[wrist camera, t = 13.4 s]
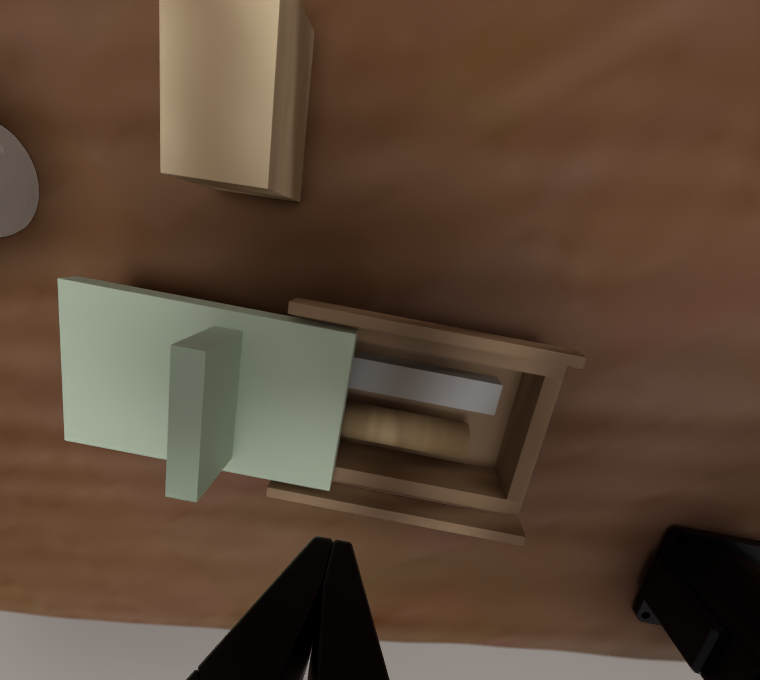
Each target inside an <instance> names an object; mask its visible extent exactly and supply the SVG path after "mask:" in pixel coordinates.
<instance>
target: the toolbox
mask: <svg viewBox="0 0 760 680" xmlns="http://www.w3.org/2000/svg"><path fill="white" fill-rule="evenodd" d="M288 314H292V315H295V317H297V318H302V319H308V320H313V321H318V322H323V323H329V324H334V325H339V326H345V327H350V328H355V329H358V334H357V340H356V346H355V352H354V358H353V364H352V370H351V376H350V382H349V388H348V393H347V399H346V405H345V411H344V417H343V423H342V429H341V435H340V441H339V447H338V453H337V458H336V464H335V470H334V476H333V480H332V481H335V482H341V483H346V484H351V485H356V486H361V487H367V488H372V489H377V490H382V491H387V492H393V493H398V494H403V495H408V496H413V497H419V498H424V499H429V500H434V501H439V502H445V503H450V504H455V505H460V506H465V507H471V508H476V509H481V510H486V511H491V512H497V513H502V514H507V515H512V516H517V517H518V516H519V513H520V510H521V507H522V504H523V501H524V498H525V495H526V492H527V489H528V486H529V483H530V480H531V477H532V474H533V471H534V468H535V465H536V462H537V458H538V455H539V452H540V449H541V446H542V443H543V440H544V437H545V434H546V431H547V428H548V425H549V422H550V419H551V416H552V413H553V410H554V407H555V404H556V401H557V397H558V394H559V391H560V388H561V385H562V382H563V379H564V376H565V373H566V370H567V367H573V368H578V369H583V368H584V365H585V362H586V359H587V357H585V356H584V355H582V354H580V353H579V352H577V351H575V350H574V349H569V348H564V347H558V346H553V345H548V344H542V343H537V342H532V341H527V340H521V339H516V338H511V337H505V336H500V335H495V334H489V333H484V332H479V331H473V330H468V329H463V328H457V327H452V326H447V325H441V324H436V323H431V322H425V321H420V320H415V319H409V318H404V317H399V316H394V315H388V314H383V313H378V312H372V311H367V310H362V309H356V308H351V307H346V306H340V305H335V304H330V303H324V302H319V301H314V300H308V299H303V298H298V297H297V298H295V299H293V300H291V301H289V306H288ZM266 497H271V498H276V499H281V500H286V501H292V502H297V503H302V504H307V505H312V506H318V507H323V508H328V509H333V510H338V511H343V512H349V513H354V514H359V515H364V516H369V517H375V518H380V519H385V520H390V521H395V522H400V523H406V524H411V525H416V526H421V527H426V528H432V529H437V530H442V531H447V532H452V533H457V534H463V535H468V536H473V537H478V538H483V539H489V540H494V541H499V542H504V543H509V544H514V545H520V546H523V544H524V541H525V538H526V536H525V534H524V532H523V529H522V527H521V525H520V522H519V520H518V518H513V517H508V516H503V515H498V514H492V513H487V512H482V511H477V510H472V509H466V508H461V507H456V506H451V505H446V504H440V503H435V502H430V501H425V500H420V499H414V498H409V497H404V496H399V495H394V494H388V493H383V492H378V491H373V490H368V489H362V488H357V487H352V486H347V485H342V484H336V483H332V484H331V487H330V491H326V490H321V489H316V488H310V487H305V486H300V485H295V484H290V483H284V482H279V481H274V480H271V481H270V483H269V485H268V487H267V494H266Z"/></svg>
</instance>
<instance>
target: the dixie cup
mask: <svg viewBox="0 0 760 680" xmlns="http://www.w3.org/2000/svg"><path fill="white" fill-rule="evenodd" d="M38 201H39V184H38V178H37V174H36V170H35V168H34V165H33V163H32V160H31V158H30V156H29V155H28V153H27V151H26V150H25V148H24V147H23V145H22V144H21V143H20V142H19V140H18V139H17V138H16V137H15V136H14V135H13V134H12V133H11V132H9V131H8V130H7V129H6V128H4V127H3V126H2V125H0V237H6V236H10V235H13V234H15V233H17V232H19V231H20V230H22V229H24V228H25V227H26V226H27V225H28V224H29V223H30V221H31V220H32V218H33V217H34V215H35V212H36V209H37V206H38Z"/></svg>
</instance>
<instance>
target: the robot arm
mask: <svg viewBox="0 0 760 680" xmlns="http://www.w3.org/2000/svg"><path fill="white" fill-rule="evenodd" d="M332 543H333V544H332ZM633 612H634V614H635V615H636V617H637V618H638V619H639V620H640V621H642V622H646V623H651V624H657V625H662V627H663V628H664V630H665V631H666V632H667V634H668V635H669V637H670V638H671V640H672V641H673V643H674V644H675V646H676V647H677V649H678V650H679V651H680V653H681V654H682V656H683V657H684V659H685V660H686V662H687V663H688V665H689V666H690V667H691V669H692V670H693V671H694V672H695V673H698V674H700V675H701V676H702V678H703V679H704V680H760V542H755V541H750V540H745V539H740V538H734V537H729V536H724V535H719V534H713V533H708V532H703V531H698V530H693V529H687V528H682V527H674V528H672V529H670V530H669V531H668V533H667V535H666V537H665V539H664V541H663V544H662V546H661V548H660V550H659V552H658V555H657V557H656V559H655V561H654V563H653V566H652V568H651V570H650V572H649V574H648V576H647V579H646V581H645V583H644V585H643V587H642V590H641V592H640V594H639V596H638V598H637V601H636V603H635V605H634V607H633ZM311 649H312V651H311ZM310 653H311V657H310ZM309 657H310V664H309V671H308V680H389V676H388V673H387V669H386V666H385V662H384V658H383V655H382V651H381V647H380V644H379V640H378V637H377V633H376V629H375V626H374V622H373V618H372V615H371V611H370V608H369V604H368V600H367V597H366V593H365V590H364V586H363V582H362V579H361V575H360V571H359V568H358V564H357V561H356V557H355V553H354V550H353V546H352V544H351V543H350V542H346V541H340V540H334V541H333V542H332V540H331V539H330V538H324V537H319V536H316V537H314V538H313V539H312V540H311V541H310V542H309V543H308V544H307V546H306V547H305V548H304V549H303V550H302V551H301V552H300V553H299V554H298V556H297V557H296V558H295V559H294V560H293V561H292V562H291V563H290V565H289V566H288V567H287V568H286V569H285V570H284V571H283V572H282V573H281V575H280V576H279V577H278V578H277V579H276V580H275V581H274V582H273V584H272V585H271V586H270V587H269V588H268V589H267V590H266V591H265V592H264V594H263V595H262V596H261V597H260V598H259V599H258V600H257V601H256V603H255V604H254V605H253V606H252V607H251V608H250V609H249V610H248V611H247V613H246V614H245V615H244V616H243V617H242V618H241V619H240V620H239V622H238V623H237V624H236V625H235V626H234V627H233V628H232V629H231V630H230V632H229V633H228V634H227V635H226V636H225V637H224V638H223V639H222V641H221V642H220V643H219V644H218V645H217V646H216V647H215V648H214V650H213V651H212V652H211V653H210V654H209V655H208V656H207V657H206V658H205V660H204V661H203V662H202V663H201V664H200V665H199V667H198V670H195V671H194V672H193V673H192V674H191V675H190V676H189V677H188V678H187V679H186V680H303V678H304V675H305V671H306V667H307V664H308V661H309Z"/></svg>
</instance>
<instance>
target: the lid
mask: <svg viewBox="0 0 760 680" xmlns="http://www.w3.org/2000/svg"><path fill="white" fill-rule="evenodd" d="M58 299H59V321H60V344H61V366H62V389H63V411H64V434H65V440H66V441H71V442H77V443H82V444H87V445H92V446H97V447H103V448H108V449H113V450H118V451H123V452H129V453H134V454H139V455H144V456H149V457H155V458H160V459H165V460H167V464H166V492H165V496H166V497H171V498H176V499H181V500H187V501H192V502H197V501H198V500H199V499H200V498H201V496H202V495H203V494H204V493H205V491H206V490H207V489H208V488H209V486H210V485H211V484H212V483H213V481H214V480H215V479H216V477H217V476H218V475H219V474H220V472H221V471H227V472H232V473H238V474H243V475H248V476H253V477H258V478H264V479H269V480H274V481H279V482H284V483H290V484H295V485H300V486H305V487H310V488H316V489H321V490H326V491H330V487H331V484H332V480H333V476H334V470H335V464H336V458H337V453H338V447H339V441H340V435H341V429H342V423H343V417H344V411H345V405H346V399H347V393H348V388H349V382H350V376H351V370H352V364H353V358H354V352H355V346H356V340H357V334H358V329H355V328H350V327H345V326H339V325H334V324H329V323H323V322H318V321H313V320H308V319H302V318H297V317H292V316H286V315H281V314H276V313H270V312H265V311H260V310H255V309H249V308H244V307H239V306H233V305H228V304H223V303H217V302H212V301H207V300H201V299H196V298H191V297H186V296H180V295H175V294H170V293H164V292H159V291H154V290H148V289H143V288H138V287H132V286H127V285H122V284H117V283H111V282H106V281H101V280H95V279H90V278H85V277H79V276H76V277H66V278H58Z"/></svg>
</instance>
